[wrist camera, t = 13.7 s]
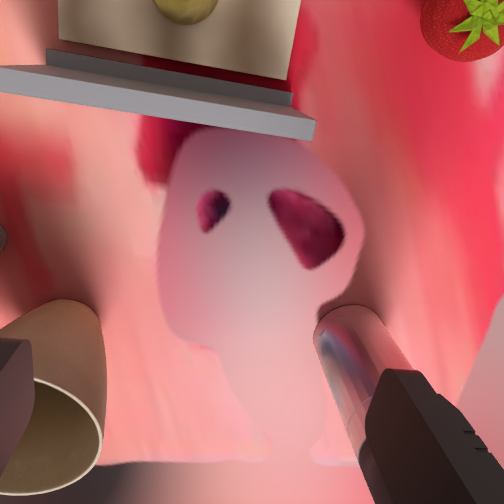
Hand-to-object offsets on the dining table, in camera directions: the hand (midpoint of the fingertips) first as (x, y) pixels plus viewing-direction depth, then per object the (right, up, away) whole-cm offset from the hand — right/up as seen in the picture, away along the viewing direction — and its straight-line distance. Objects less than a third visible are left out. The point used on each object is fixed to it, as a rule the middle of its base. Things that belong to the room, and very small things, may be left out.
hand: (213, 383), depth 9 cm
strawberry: (+18, +24, +28) cm, 41 cm away
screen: (-6, +18, +28) cm, 34 cm away
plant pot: (-21, -6, +38) cm, 44 cm away
